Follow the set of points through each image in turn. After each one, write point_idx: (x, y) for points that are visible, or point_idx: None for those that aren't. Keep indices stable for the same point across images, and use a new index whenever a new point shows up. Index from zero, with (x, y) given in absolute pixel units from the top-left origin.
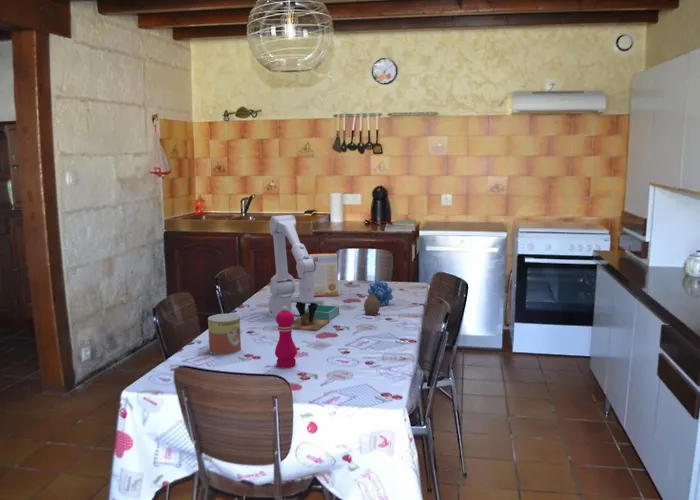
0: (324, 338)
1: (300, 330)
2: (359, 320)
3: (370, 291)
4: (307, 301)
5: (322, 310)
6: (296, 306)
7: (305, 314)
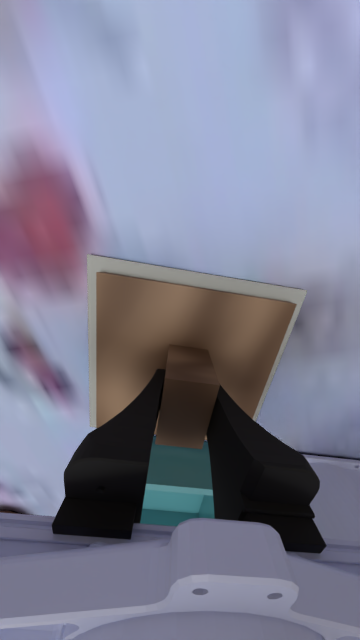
0: (9, 152)
1: (195, 278)
2: (10, 462)
3: None
4: (143, 570)
5: (168, 522)
6: (298, 458)
7: (192, 404)
